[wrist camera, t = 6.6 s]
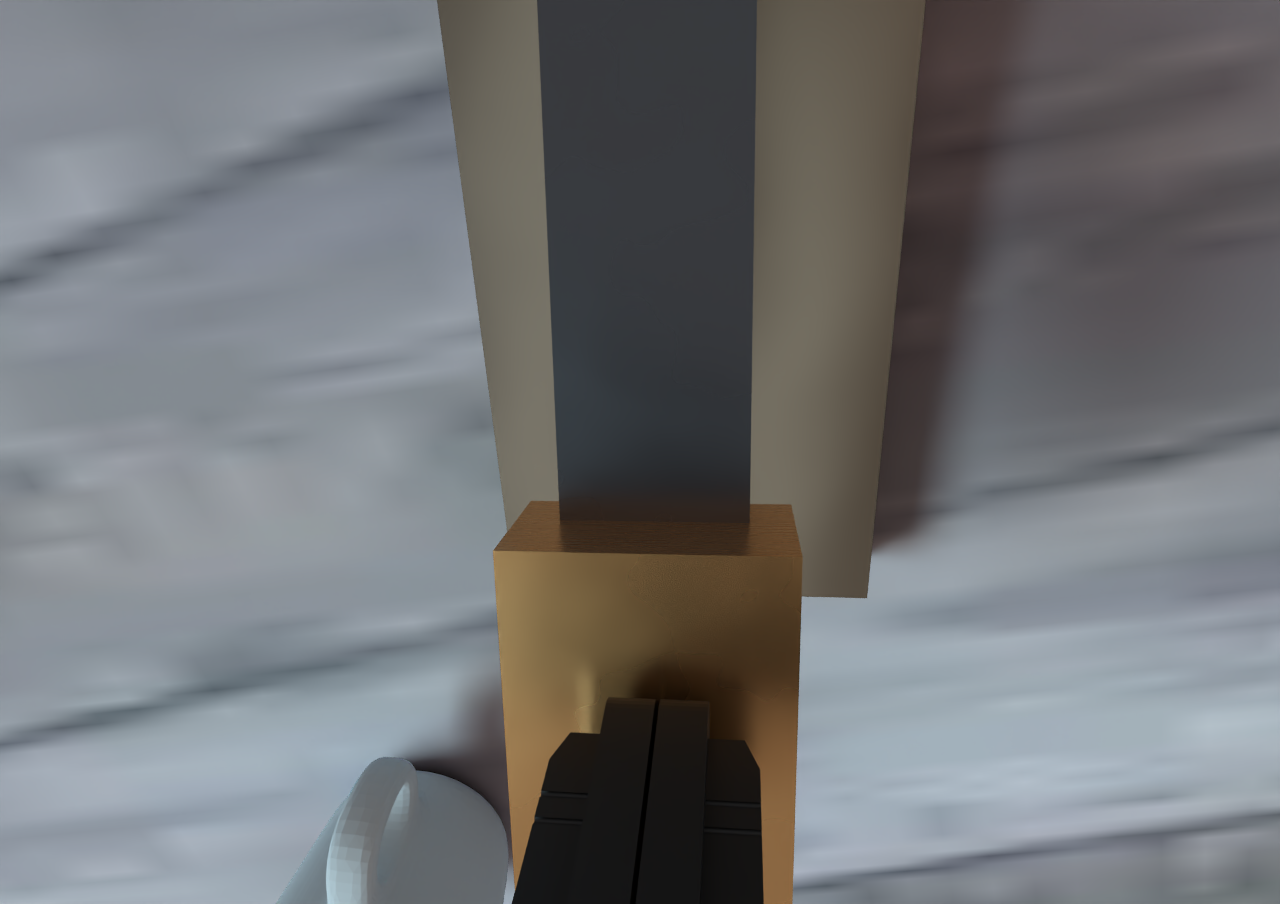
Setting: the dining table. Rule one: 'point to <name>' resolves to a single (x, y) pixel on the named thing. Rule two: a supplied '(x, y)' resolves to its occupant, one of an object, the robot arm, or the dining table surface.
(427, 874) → the cup
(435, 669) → the dining table surface
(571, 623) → the press lever
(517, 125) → the press base
